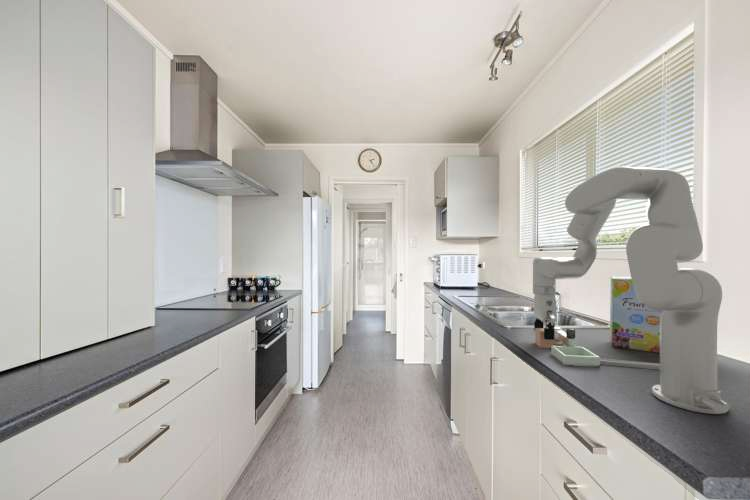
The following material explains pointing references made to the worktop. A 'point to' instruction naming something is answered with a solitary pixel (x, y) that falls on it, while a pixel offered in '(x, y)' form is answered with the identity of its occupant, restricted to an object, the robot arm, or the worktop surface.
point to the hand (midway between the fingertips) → (543, 335)
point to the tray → (575, 356)
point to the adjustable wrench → (630, 363)
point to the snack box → (632, 319)
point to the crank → (565, 336)
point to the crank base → (558, 343)
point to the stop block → (541, 341)
